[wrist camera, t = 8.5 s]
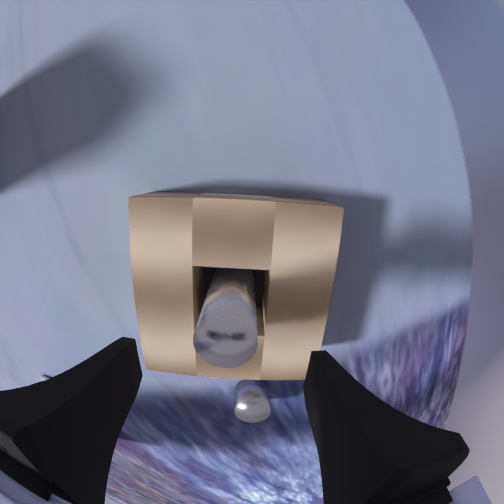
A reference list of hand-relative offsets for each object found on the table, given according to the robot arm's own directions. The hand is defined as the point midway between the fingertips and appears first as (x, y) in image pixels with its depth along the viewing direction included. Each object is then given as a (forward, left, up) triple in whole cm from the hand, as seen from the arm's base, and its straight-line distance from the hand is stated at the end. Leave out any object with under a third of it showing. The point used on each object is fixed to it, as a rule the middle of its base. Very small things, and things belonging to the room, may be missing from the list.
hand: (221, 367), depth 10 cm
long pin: (0, 0, -10) cm, 10 cm away
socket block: (0, 0, -10) cm, 10 cm away
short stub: (-11, -2, -10) cm, 15 cm away
